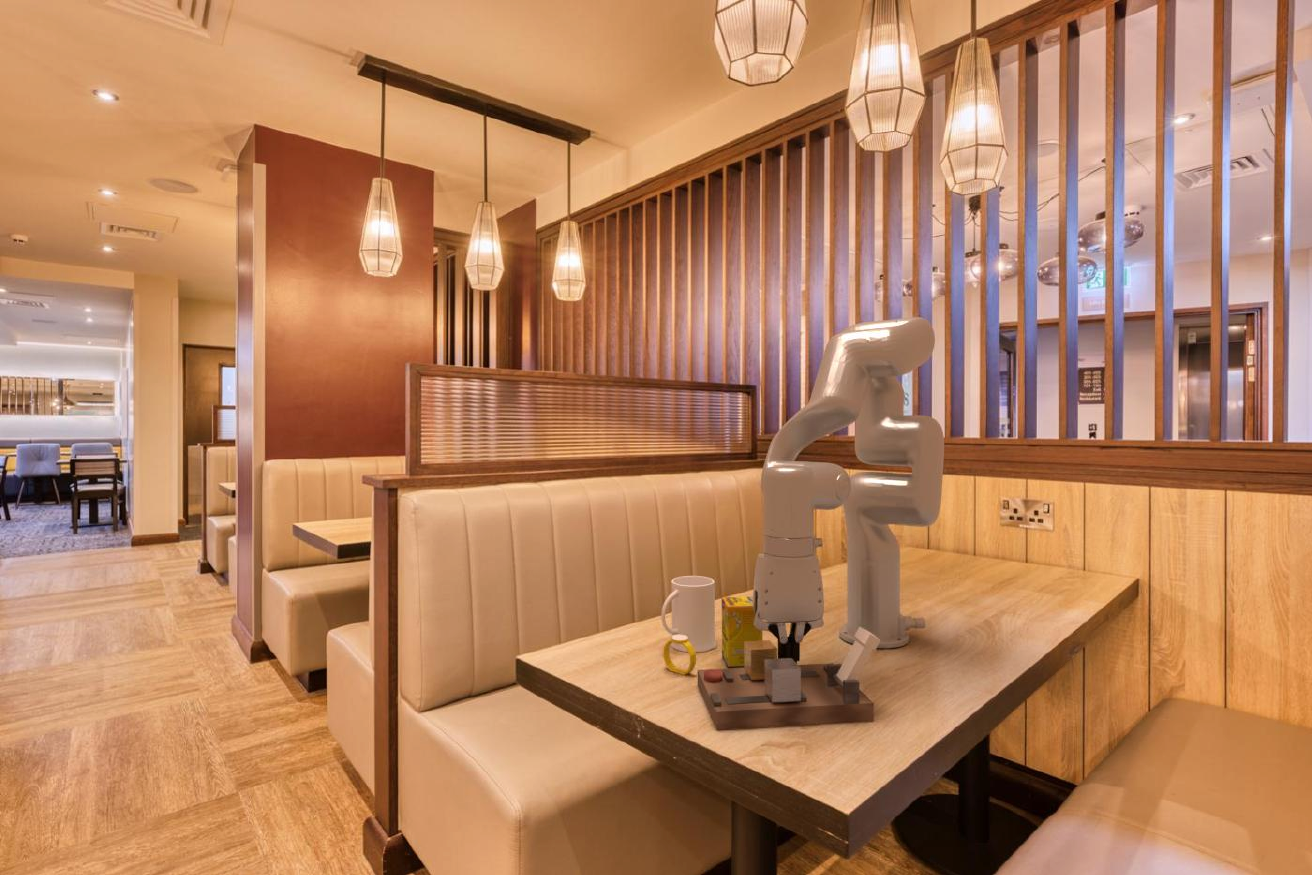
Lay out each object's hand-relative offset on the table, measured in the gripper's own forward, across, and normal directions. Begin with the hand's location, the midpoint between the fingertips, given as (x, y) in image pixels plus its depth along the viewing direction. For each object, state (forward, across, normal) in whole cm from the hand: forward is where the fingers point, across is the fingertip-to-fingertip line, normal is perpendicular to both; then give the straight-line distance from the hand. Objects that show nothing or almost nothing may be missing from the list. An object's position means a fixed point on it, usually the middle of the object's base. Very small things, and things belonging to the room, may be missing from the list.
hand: (788, 665), depth 100 cm
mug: (+4, +12, -22) cm, 26 cm away
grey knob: (+1, +4, +8) cm, 9 cm away
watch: (+4, +15, -10) cm, 19 cm away
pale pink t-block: (0, -6, +7) cm, 9 cm away
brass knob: (+1, +4, 0) cm, 5 cm away
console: (+4, +2, +3) cm, 6 cm away
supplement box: (+4, +4, -12) cm, 14 cm away
